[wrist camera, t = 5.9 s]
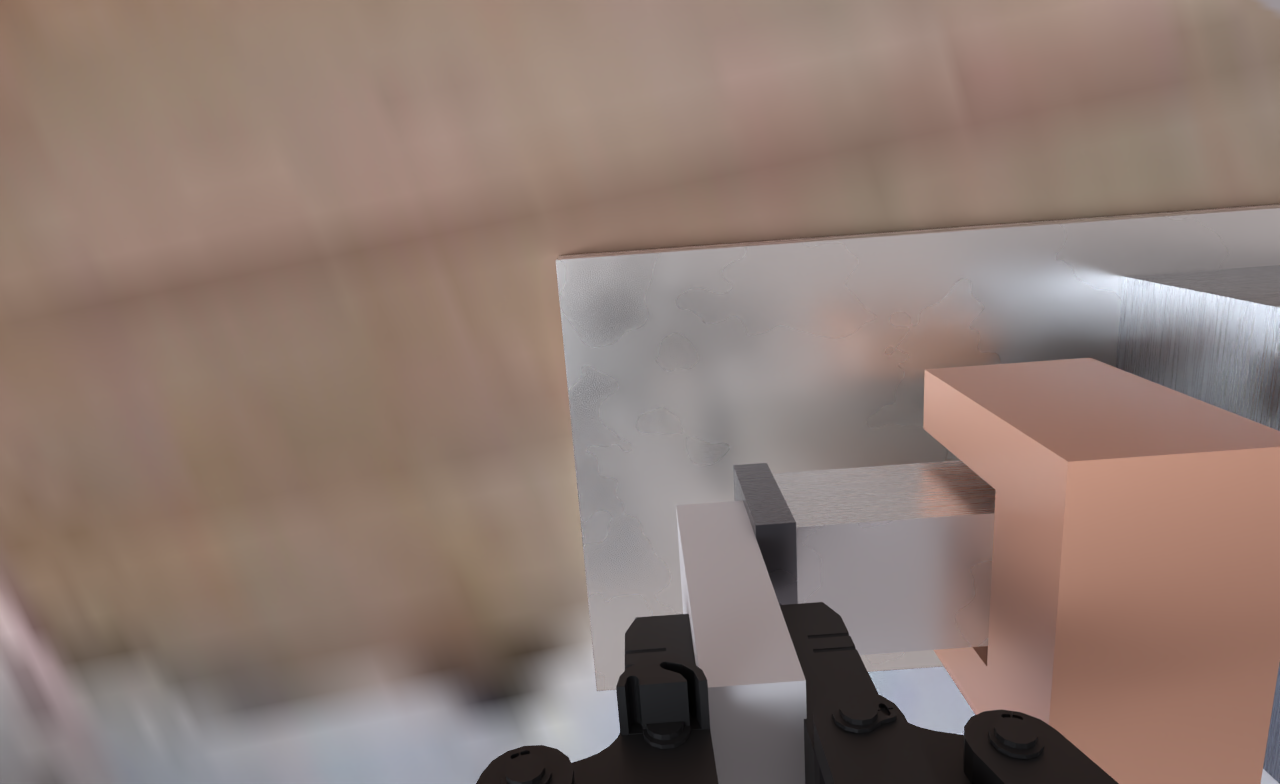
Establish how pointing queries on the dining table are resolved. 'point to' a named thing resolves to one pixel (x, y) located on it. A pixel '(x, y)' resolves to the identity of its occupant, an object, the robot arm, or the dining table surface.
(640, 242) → the dining table surface
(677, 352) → the grey blocky piece
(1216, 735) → the block
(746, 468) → the shaft
